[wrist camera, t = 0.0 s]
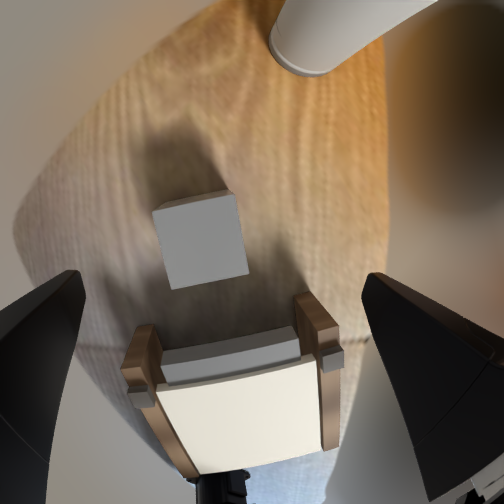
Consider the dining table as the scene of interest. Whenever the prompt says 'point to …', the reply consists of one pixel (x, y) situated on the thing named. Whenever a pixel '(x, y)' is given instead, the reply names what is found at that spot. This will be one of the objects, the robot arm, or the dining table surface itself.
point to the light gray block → (201, 239)
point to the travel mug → (332, 30)
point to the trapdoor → (242, 400)
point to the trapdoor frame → (311, 341)
